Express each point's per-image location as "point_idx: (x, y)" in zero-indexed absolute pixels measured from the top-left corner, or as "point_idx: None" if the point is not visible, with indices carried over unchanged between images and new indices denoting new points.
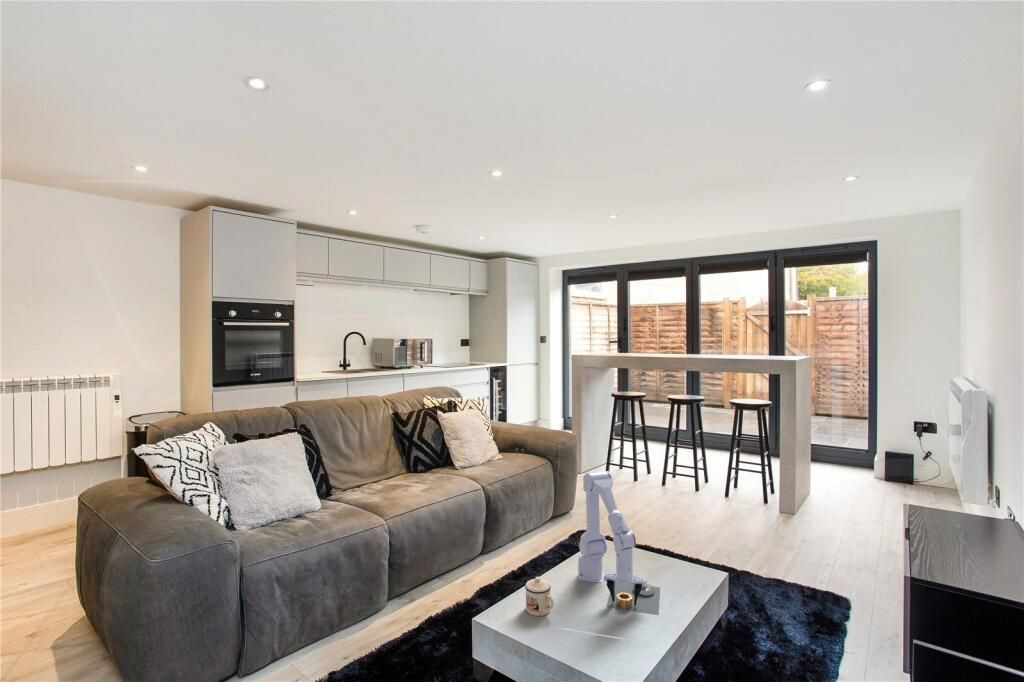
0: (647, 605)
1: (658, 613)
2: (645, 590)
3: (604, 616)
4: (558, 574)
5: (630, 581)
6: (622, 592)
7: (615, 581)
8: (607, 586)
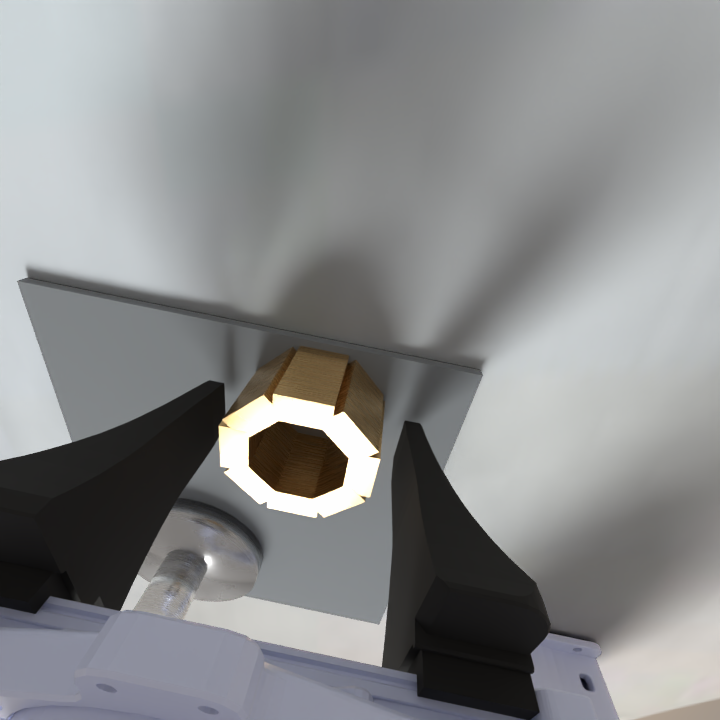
0: (140, 408)
1: (25, 303)
2: (169, 545)
3: (543, 214)
4: (704, 684)
5: (2, 691)
6: (315, 517)
7: (379, 671)
8: (531, 583)
